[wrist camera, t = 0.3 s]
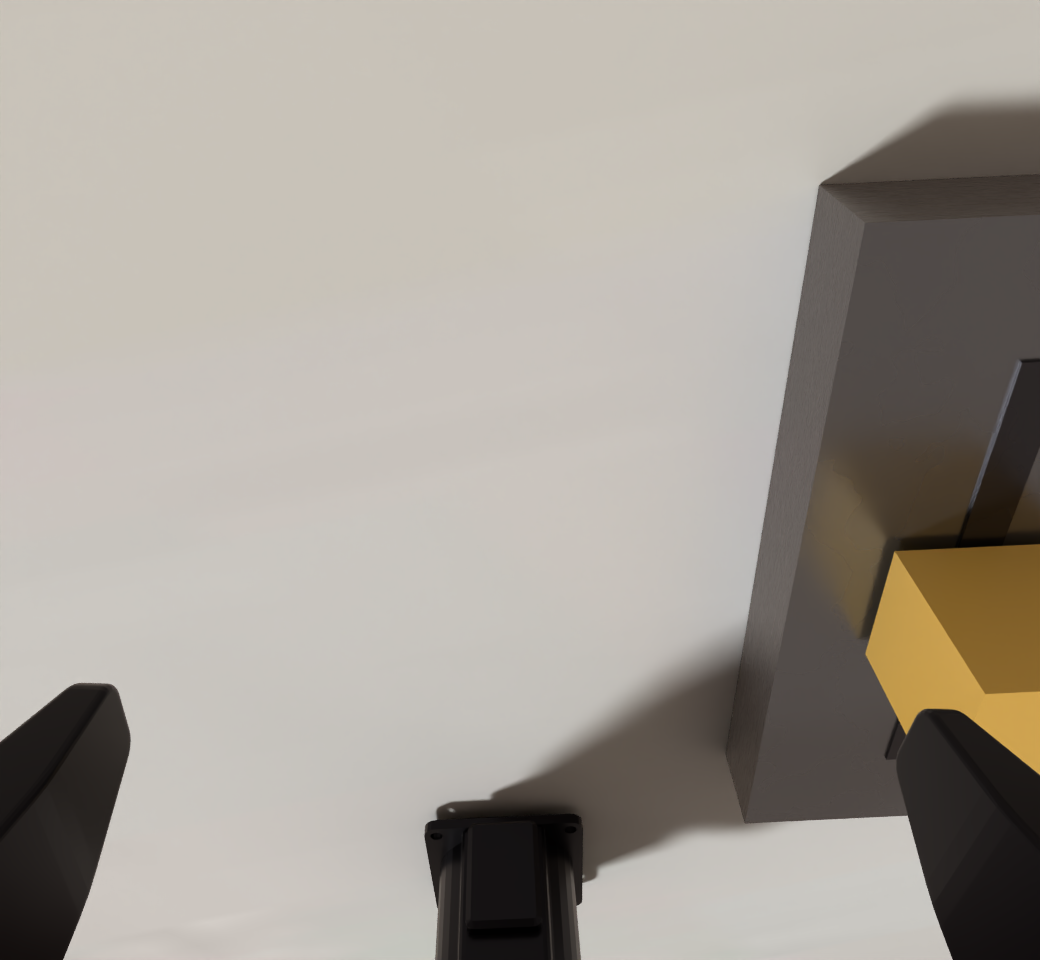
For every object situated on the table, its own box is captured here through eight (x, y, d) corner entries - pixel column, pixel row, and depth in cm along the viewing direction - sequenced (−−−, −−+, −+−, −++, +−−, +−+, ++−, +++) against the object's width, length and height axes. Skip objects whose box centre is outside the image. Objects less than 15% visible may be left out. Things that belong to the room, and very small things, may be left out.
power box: (977, 742, 32) (1018, 812, 30) (725, 754, 32) (745, 825, 30) (1227, 165, 20) (1335, 202, 17) (819, 184, 20) (867, 224, 17)
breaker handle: (1030, 645, 25) (1138, 792, 21) (865, 653, 25) (939, 801, 21) (1076, 542, 22) (1208, 683, 18) (894, 551, 22) (985, 693, 18)
